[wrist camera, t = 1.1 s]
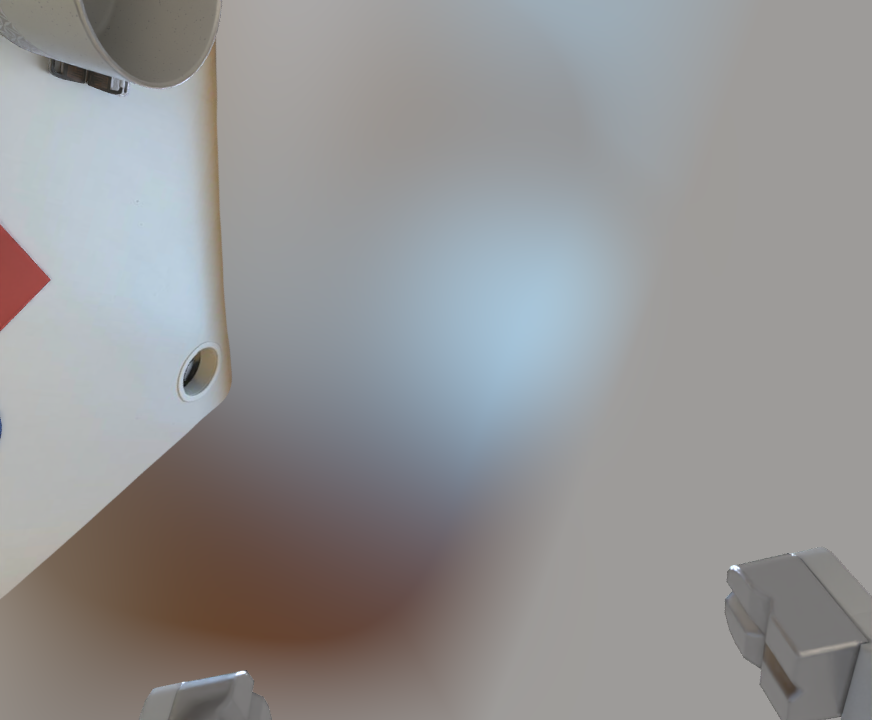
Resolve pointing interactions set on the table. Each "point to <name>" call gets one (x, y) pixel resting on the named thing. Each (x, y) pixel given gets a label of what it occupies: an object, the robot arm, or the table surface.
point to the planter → (117, 35)
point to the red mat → (16, 278)
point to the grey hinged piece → (91, 78)
